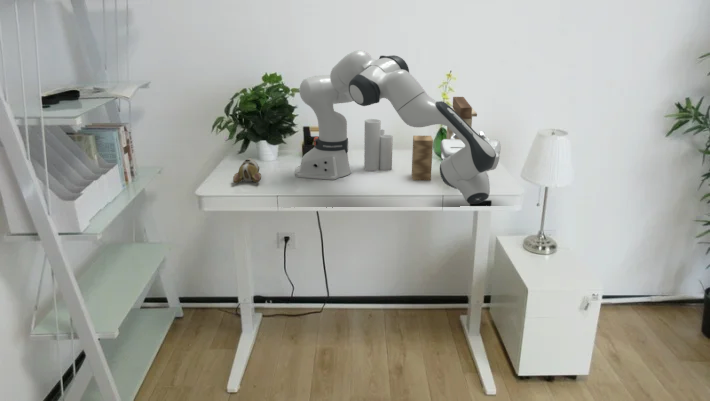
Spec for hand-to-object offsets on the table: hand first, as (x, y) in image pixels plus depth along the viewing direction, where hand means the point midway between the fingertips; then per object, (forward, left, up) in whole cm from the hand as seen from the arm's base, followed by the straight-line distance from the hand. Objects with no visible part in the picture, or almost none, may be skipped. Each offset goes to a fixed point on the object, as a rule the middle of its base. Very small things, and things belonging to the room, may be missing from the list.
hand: (468, 132), depth 194 cm
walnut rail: (0, +16, +4) cm, 17 cm away
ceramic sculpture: (-81, +11, -23) cm, 85 cm away
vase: (-31, +27, -23) cm, 47 cm away
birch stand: (0, +19, -22) cm, 30 cm away
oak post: (-14, +16, -22) cm, 31 cm away
